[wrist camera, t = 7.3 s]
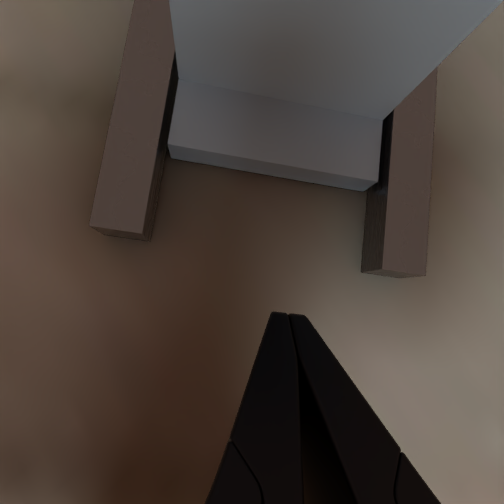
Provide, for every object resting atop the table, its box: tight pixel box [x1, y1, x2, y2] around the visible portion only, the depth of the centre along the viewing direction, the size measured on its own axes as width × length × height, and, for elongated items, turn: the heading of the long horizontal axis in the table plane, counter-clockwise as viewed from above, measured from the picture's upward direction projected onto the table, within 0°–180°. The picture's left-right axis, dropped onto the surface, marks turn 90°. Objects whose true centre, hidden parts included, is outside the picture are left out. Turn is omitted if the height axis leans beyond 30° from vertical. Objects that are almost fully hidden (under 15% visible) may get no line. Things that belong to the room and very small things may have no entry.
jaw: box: [168, 0, 504, 192], centre depth 12 cm, size 6×9×9 cm, turn 82°
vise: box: [89, 0, 437, 278], centre depth 14 cm, size 17×14×6 cm
